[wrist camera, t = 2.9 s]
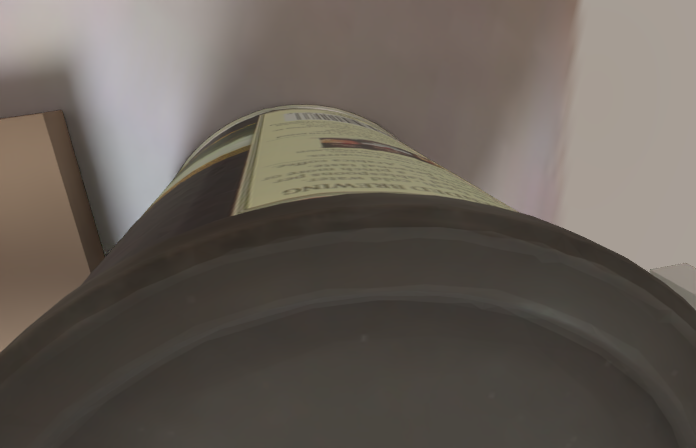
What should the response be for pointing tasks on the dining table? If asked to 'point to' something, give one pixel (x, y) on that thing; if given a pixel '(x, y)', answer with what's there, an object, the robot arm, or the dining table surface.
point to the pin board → (41, 221)
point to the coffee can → (349, 314)
